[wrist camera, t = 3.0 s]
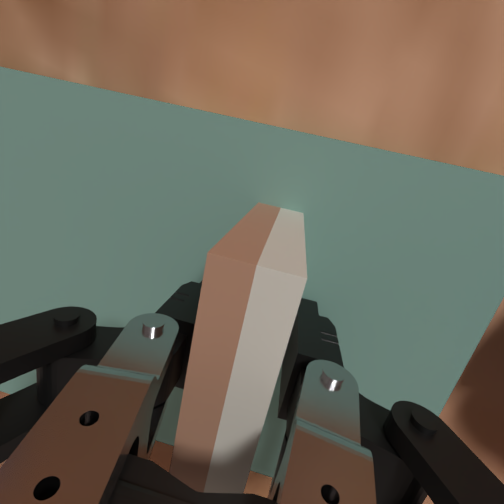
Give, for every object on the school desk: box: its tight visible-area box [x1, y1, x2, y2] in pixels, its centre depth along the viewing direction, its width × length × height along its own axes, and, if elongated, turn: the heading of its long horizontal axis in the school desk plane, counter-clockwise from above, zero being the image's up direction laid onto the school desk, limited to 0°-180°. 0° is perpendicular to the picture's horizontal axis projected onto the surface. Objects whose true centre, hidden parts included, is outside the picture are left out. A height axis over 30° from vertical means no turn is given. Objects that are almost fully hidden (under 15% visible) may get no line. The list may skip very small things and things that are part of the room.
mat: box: [0, 67, 504, 477], centre depth 12 cm, size 22×15×1 cm
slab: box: [169, 202, 307, 494], centre depth 9 cm, size 2×8×6 cm, turn 168°
